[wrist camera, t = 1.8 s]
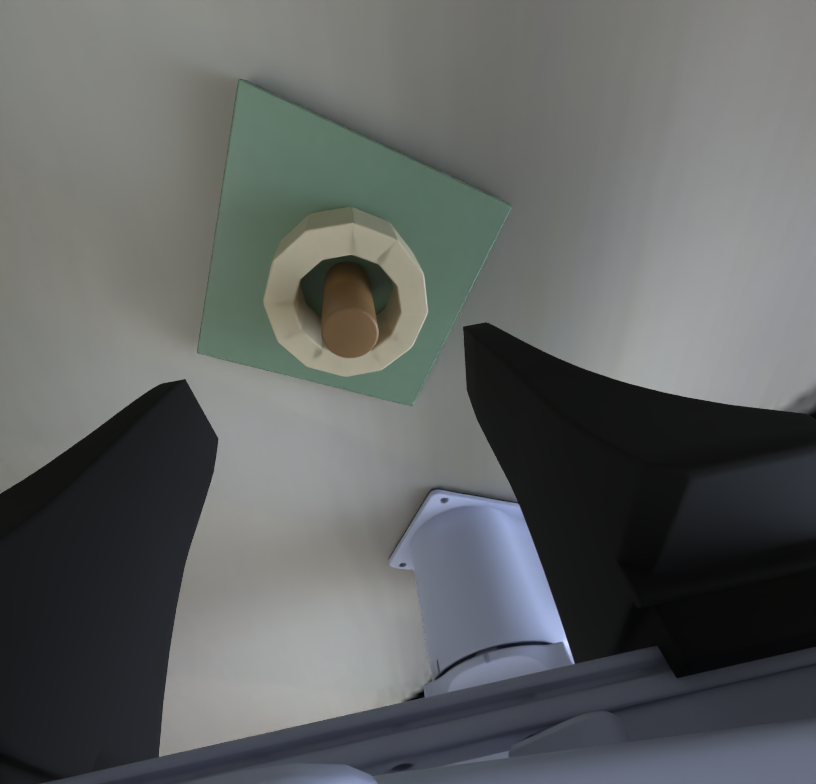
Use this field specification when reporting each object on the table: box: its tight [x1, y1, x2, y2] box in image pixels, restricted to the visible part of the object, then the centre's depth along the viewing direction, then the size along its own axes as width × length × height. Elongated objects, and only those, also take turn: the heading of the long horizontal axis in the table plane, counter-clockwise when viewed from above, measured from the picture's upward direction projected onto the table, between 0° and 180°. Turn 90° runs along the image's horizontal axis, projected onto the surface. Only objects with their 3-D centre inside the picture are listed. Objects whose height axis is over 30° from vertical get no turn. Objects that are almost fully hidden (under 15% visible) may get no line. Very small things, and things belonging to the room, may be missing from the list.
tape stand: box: [197, 79, 512, 406], centre depth 15 cm, size 10×10×6 cm
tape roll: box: [263, 207, 428, 377], centre depth 15 cm, size 6×6×2 cm
